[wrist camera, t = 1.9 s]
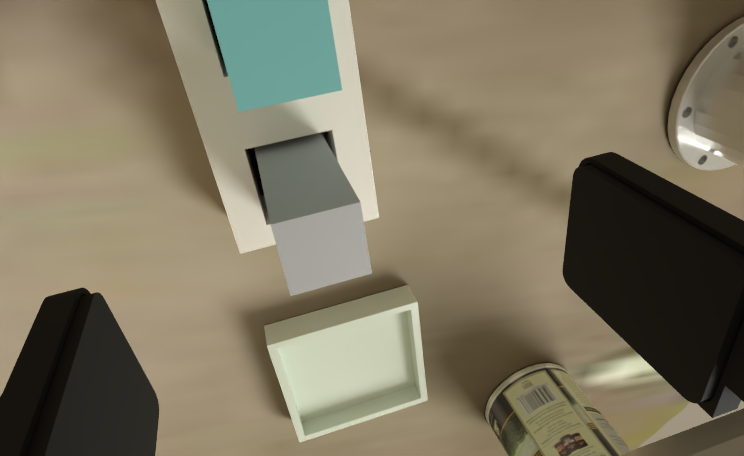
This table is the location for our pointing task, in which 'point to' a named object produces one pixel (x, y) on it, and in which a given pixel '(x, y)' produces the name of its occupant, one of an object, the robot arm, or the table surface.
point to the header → (266, 118)
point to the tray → (349, 361)
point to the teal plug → (276, 49)
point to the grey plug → (312, 214)
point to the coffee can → (549, 416)
